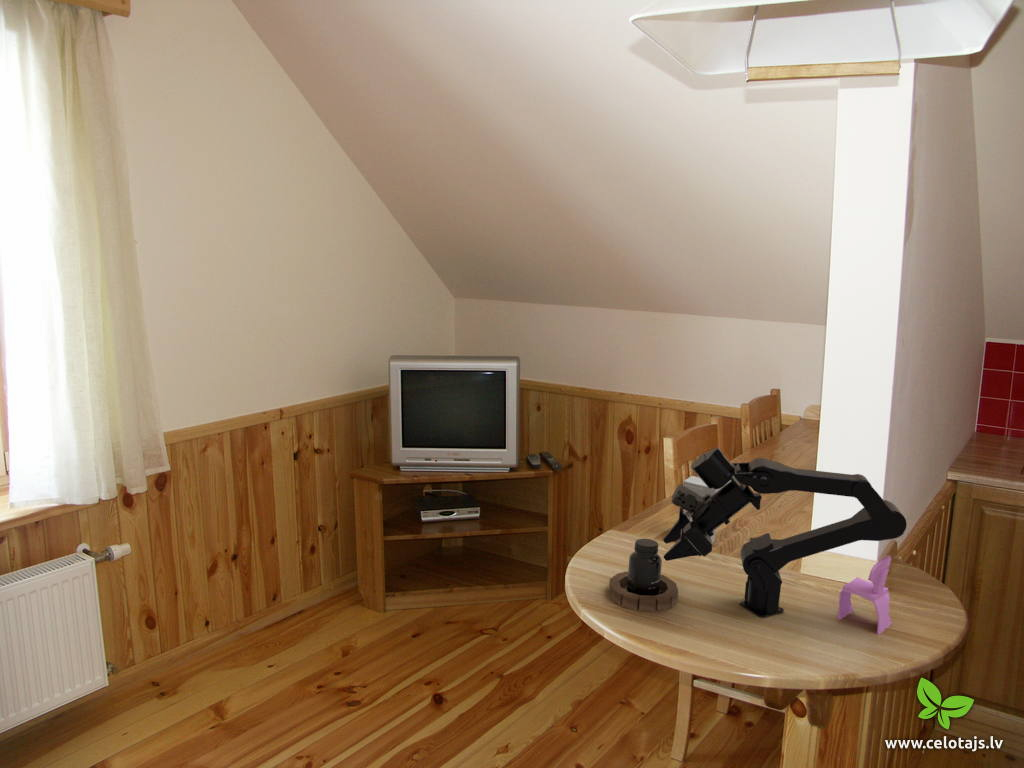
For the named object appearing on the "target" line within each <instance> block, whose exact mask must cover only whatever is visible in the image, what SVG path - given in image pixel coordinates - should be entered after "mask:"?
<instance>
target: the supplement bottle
mask: <svg viewBox="0 0 1024 768" xmlns="http://www.w3.org/2000/svg"><path fill="white" fill-rule="evenodd" d="M633 549H634V551H633V552H631V554H629V558H628V567H627V568H628V569H627V571H628V580H627V587H626V591H627V592H630V593H634V594H637V595H645V596H655V595H659V594H660V578H661V575H662V564H663V560H662V557H661V556H660V555H659V543H658V542H657V541H656V540H654V539H650V538H638V539H636V540H635V542H634V547H633Z"/></svg>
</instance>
